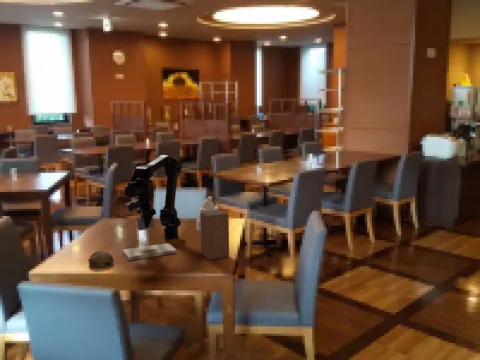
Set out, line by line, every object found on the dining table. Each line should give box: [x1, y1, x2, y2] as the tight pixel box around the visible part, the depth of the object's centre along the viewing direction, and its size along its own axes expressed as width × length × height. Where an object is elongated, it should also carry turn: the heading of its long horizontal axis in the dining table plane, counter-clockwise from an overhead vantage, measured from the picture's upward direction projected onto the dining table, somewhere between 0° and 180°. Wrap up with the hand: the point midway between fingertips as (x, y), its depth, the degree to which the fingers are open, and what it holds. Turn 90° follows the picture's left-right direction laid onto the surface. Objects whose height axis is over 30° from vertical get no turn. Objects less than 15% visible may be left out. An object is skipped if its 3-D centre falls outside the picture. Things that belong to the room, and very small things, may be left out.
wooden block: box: [200, 209, 230, 261], centre depth 213 cm, size 10×10×20 cm
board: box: [122, 243, 178, 261], centre depth 219 cm, size 22×12×2 cm, turn 116°
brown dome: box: [87, 250, 115, 269], centre depth 204 cm, size 10×10×8 cm
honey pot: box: [196, 196, 219, 233], centre depth 258 cm, size 13×13×18 cm
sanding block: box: [136, 217, 155, 232], centre depth 223 cm, size 7×4×5 cm, turn 114°
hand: (145, 226), depth 224 cm, fingers closed on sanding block, 4 cm apart
